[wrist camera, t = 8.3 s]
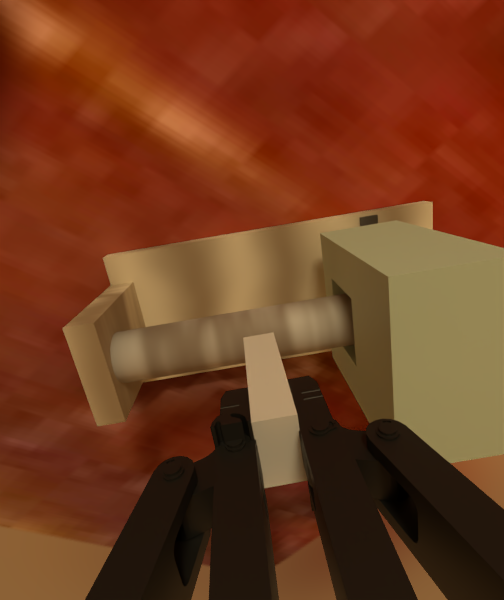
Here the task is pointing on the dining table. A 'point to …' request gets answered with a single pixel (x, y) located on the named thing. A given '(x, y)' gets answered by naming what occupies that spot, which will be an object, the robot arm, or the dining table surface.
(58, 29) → the dining table surface
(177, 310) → the rail stand
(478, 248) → the square sliding block
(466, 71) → the dining table surface
